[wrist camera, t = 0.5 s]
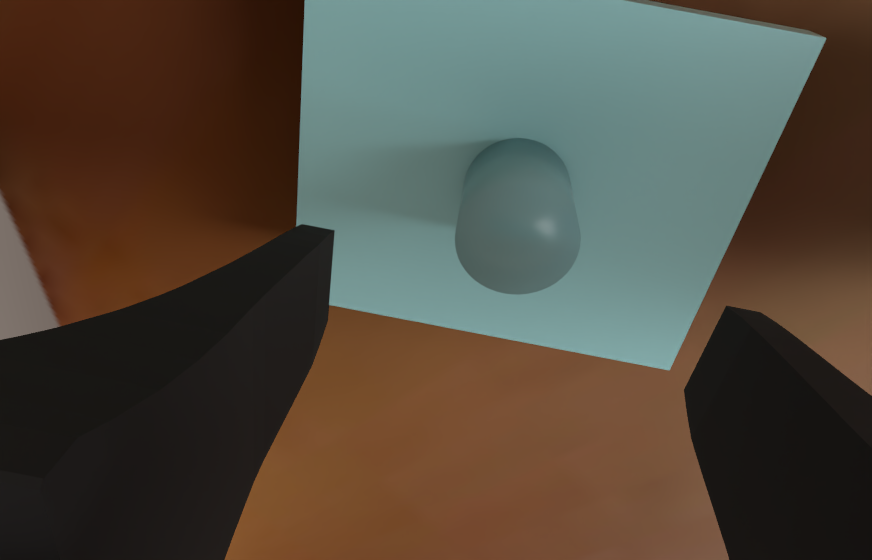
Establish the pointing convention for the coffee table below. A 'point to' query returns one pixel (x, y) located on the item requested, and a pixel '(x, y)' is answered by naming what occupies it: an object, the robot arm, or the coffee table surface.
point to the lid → (538, 160)
